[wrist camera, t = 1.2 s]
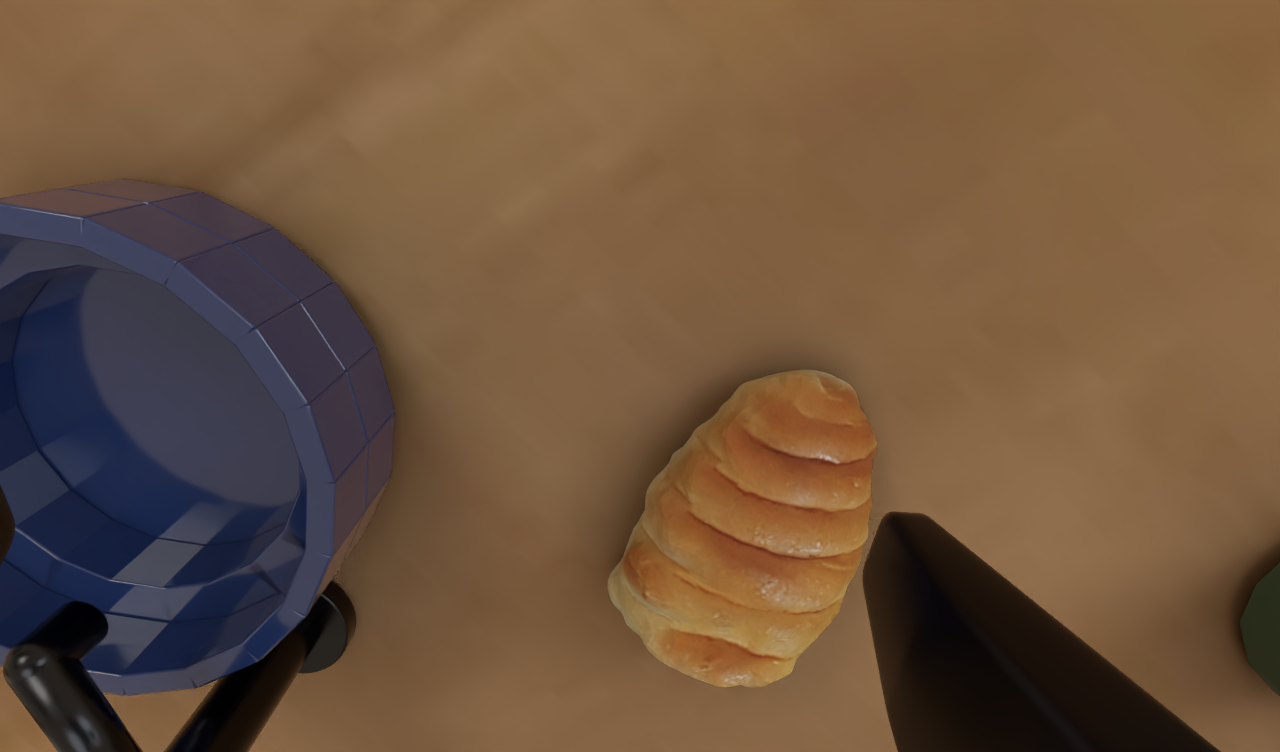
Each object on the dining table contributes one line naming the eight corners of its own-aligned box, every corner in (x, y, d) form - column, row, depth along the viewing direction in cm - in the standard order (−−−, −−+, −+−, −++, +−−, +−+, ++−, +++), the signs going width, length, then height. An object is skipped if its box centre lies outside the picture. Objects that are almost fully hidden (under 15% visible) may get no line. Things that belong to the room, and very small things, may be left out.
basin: (318, 641, 26) (243, 761, 22) (-70, 480, 25) (-243, 572, 20) (466, 312, 22) (412, 372, 17) (12, 90, 20) (-183, 91, 16)
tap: (374, 644, 26) (245, 889, 18) (279, 668, 27) (112, 917, 19) (274, 454, 24) (74, 640, 16) (172, 484, 24) (-72, 679, 16)
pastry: (707, 321, 22) (716, 367, 18) (923, 398, 23) (972, 457, 19) (600, 584, 25) (590, 666, 22) (792, 645, 26) (813, 735, 22)
